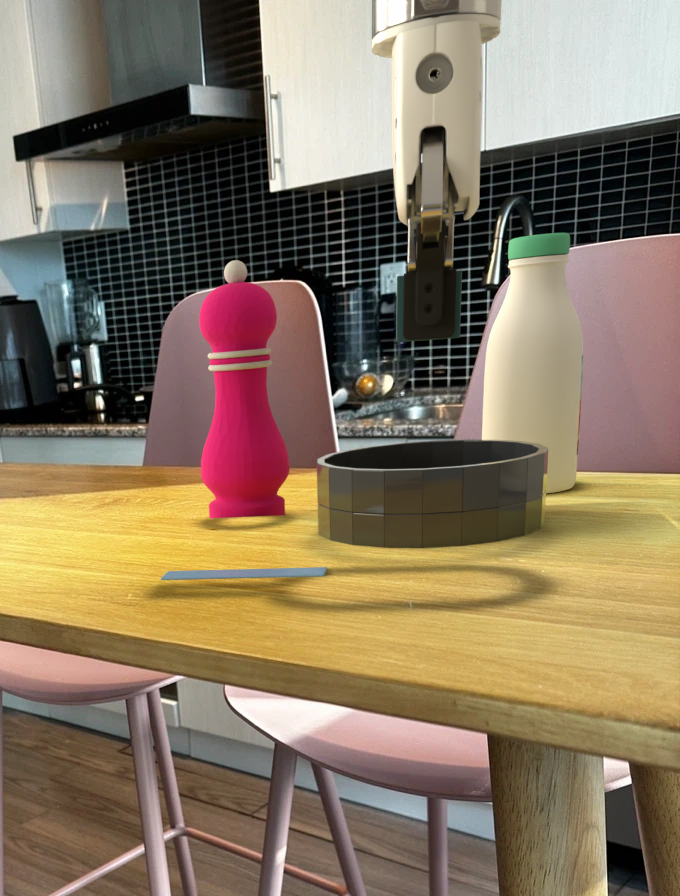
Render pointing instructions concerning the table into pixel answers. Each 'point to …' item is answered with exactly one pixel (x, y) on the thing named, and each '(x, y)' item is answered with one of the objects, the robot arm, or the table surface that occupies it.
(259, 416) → the pepper mill
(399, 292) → the teal block
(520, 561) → the table surface
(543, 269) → the milk bottle
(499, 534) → the dark round bowl
